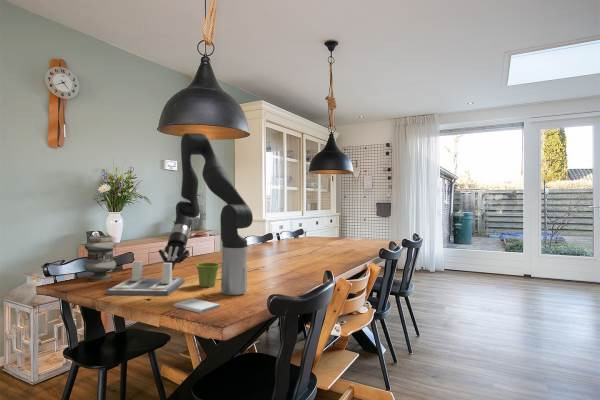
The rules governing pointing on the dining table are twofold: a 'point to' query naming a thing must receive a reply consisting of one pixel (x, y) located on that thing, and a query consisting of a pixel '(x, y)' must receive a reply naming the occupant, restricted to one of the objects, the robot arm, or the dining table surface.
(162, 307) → the dining table surface
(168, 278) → the tab
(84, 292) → the dining table surface
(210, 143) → the robot arm
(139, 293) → the switch board
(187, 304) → the external hard drive
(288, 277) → the dining table surface
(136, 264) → the tab
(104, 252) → the apothecary jar
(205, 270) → the plant pot
